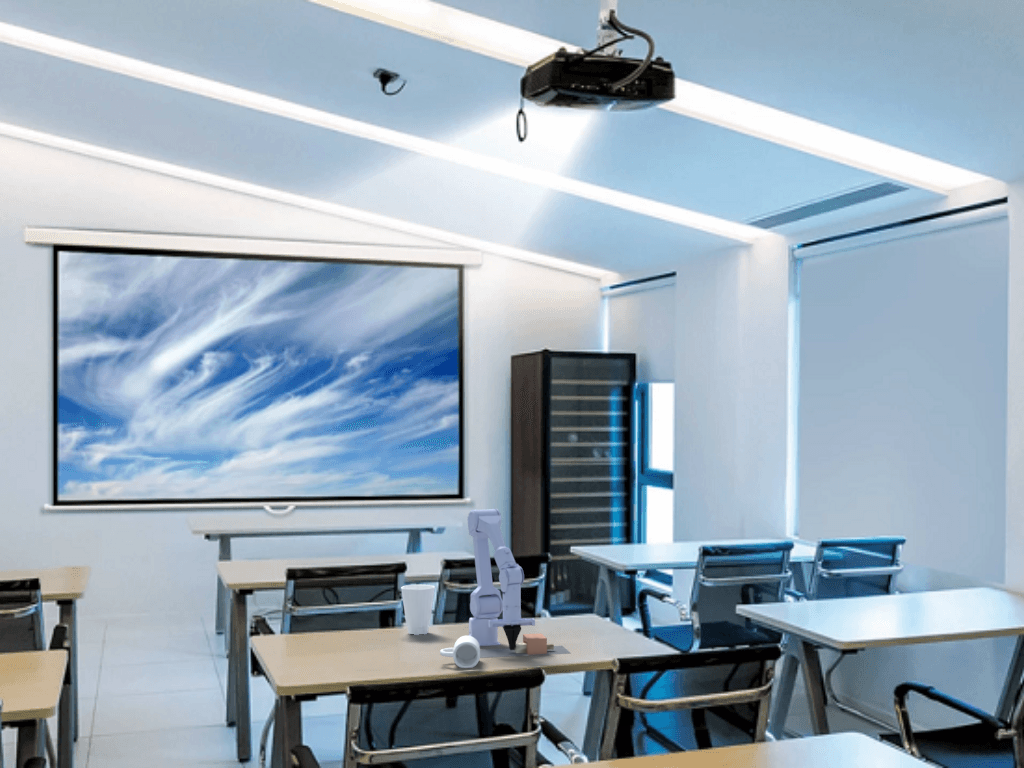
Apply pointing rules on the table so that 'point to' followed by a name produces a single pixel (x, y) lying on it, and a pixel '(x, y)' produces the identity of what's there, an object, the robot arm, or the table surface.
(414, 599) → the cup
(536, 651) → the salmon orange block
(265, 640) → the table surface
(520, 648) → the cream rectangular block
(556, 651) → the felt mat
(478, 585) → the robot arm
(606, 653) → the table surface
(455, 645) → the mug
